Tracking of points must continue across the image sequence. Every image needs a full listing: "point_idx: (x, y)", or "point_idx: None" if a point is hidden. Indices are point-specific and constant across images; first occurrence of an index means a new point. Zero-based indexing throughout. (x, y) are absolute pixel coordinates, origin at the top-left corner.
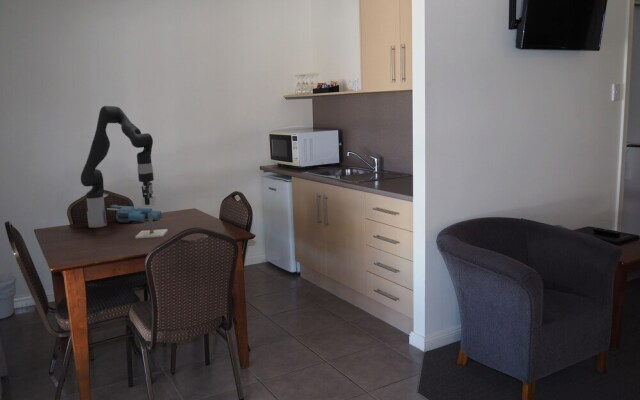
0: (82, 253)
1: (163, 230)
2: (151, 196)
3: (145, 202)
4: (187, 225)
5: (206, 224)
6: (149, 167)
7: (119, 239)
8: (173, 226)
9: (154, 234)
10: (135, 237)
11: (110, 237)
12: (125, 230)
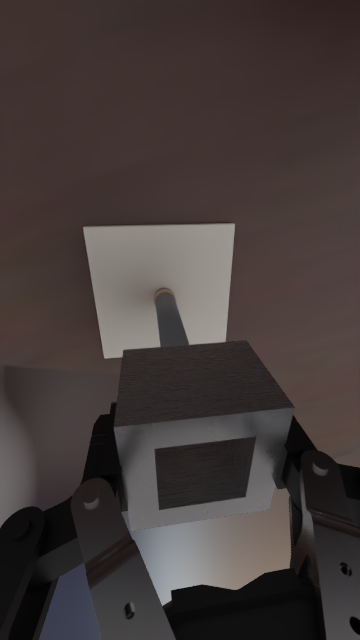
0: None
1: (199, 338)
2: (260, 486)
3: (92, 432)
4: (296, 391)
5: None
6: None
7: (75, 113)
8: (306, 345)
9: (118, 320)
10: (84, 227)
11: (154, 3)
12: (347, 82)
